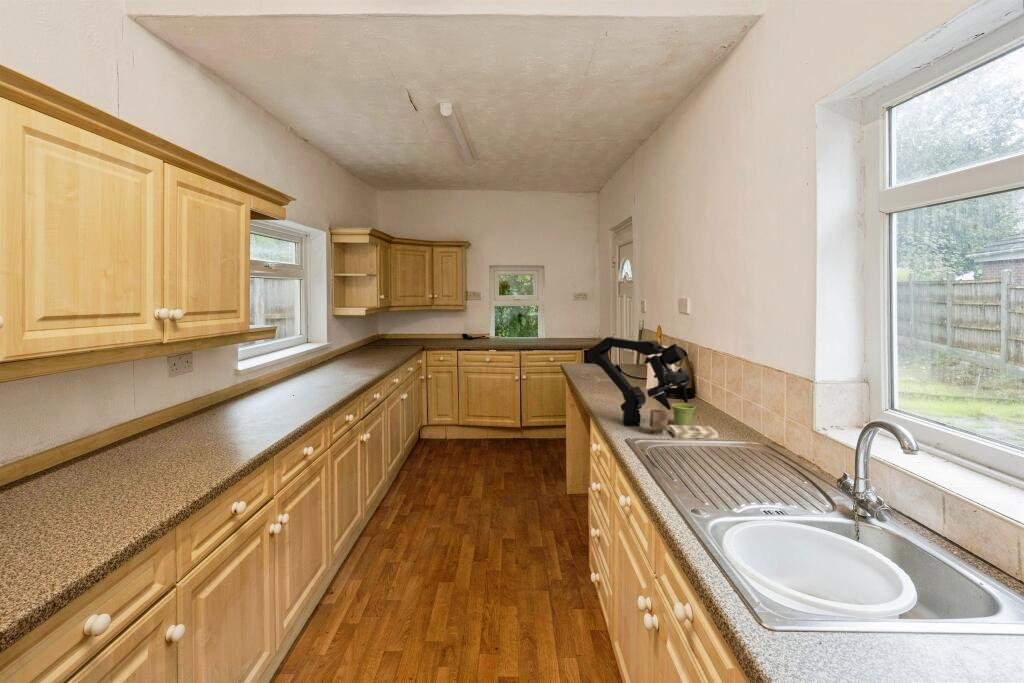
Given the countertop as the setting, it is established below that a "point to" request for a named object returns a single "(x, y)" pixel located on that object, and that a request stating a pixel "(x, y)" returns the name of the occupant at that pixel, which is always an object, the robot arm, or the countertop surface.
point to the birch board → (692, 431)
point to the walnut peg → (658, 421)
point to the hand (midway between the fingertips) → (678, 406)
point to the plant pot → (682, 413)
